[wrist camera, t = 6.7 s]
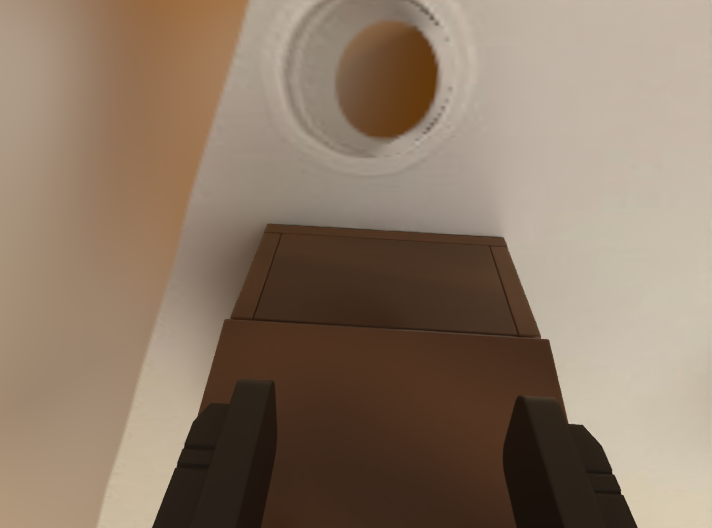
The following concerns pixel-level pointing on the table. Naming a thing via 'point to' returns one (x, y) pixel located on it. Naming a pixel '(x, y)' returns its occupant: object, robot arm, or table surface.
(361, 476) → the lid
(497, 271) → the chest
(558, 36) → the table surface
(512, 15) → the table surface
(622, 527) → the robot arm
